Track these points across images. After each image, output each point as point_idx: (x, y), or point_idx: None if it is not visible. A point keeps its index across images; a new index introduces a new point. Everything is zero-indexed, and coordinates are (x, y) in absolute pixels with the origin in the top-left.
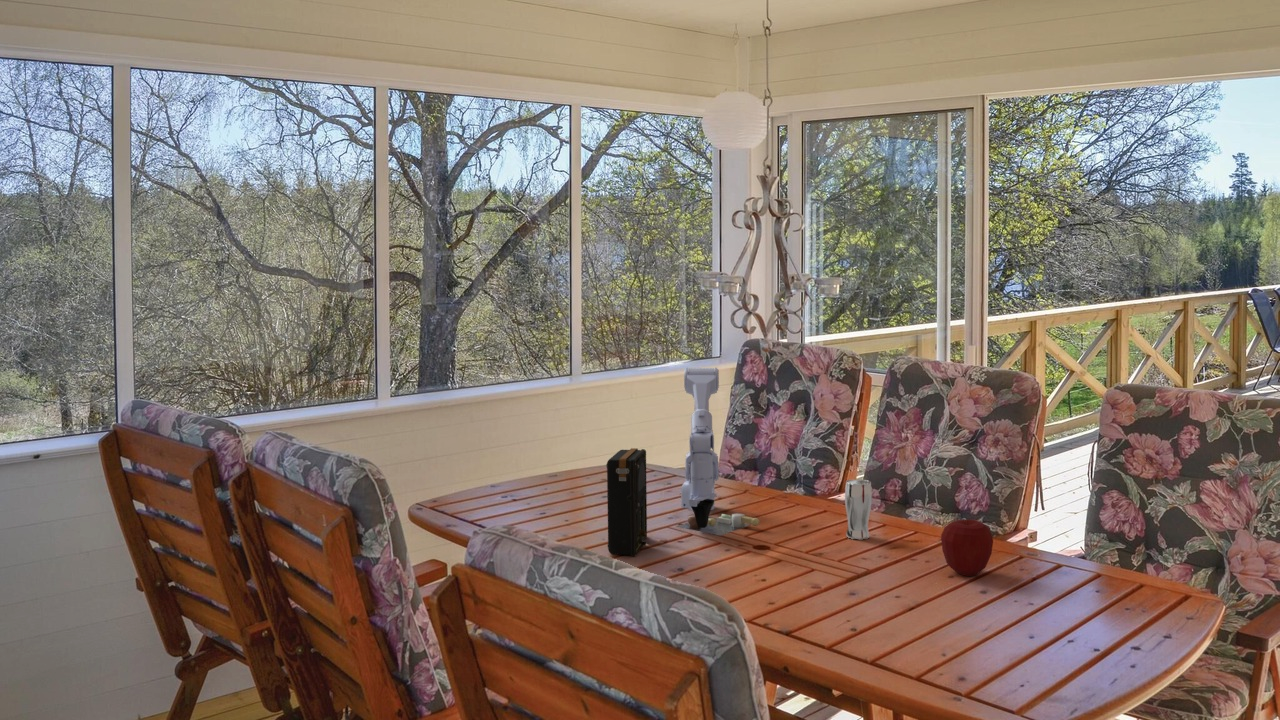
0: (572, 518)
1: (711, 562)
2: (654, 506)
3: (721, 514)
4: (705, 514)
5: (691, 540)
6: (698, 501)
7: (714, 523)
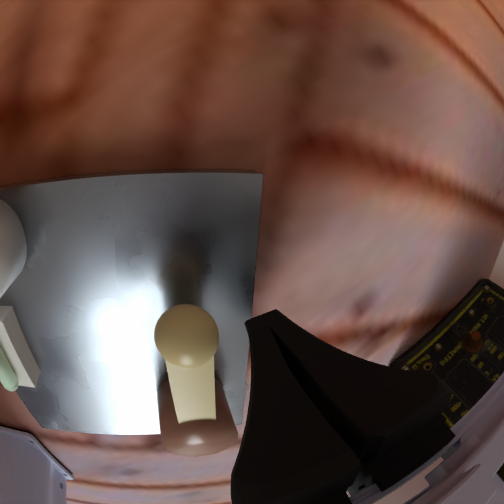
0: None
1: (477, 79)
2: (102, 500)
3: (12, 388)
4: (352, 357)
5: (333, 287)
6: (468, 430)
7: (193, 308)
